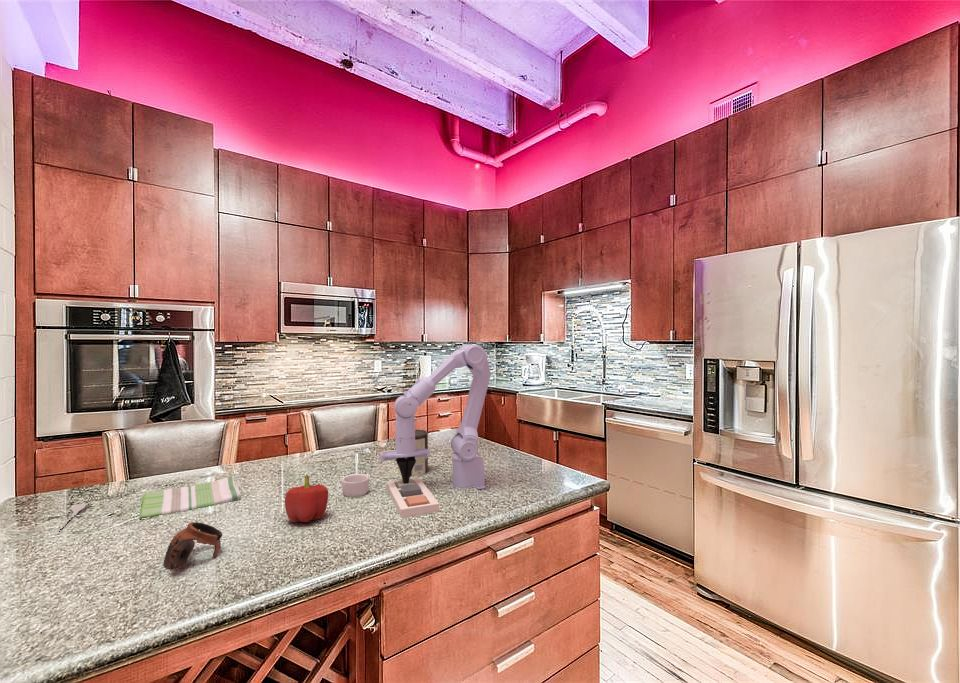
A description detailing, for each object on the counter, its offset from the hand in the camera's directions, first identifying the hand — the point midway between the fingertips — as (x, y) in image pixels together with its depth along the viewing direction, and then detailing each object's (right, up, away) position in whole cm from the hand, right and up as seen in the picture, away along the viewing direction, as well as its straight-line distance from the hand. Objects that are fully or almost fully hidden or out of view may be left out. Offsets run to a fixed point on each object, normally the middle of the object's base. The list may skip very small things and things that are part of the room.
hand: (405, 482), depth 126 cm
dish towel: (-61, -5, -4) cm, 61 cm away
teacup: (-15, -4, 0) cm, 15 cm away
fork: (-84, -5, -16) cm, 85 cm away
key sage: (0, -3, 0) cm, 3 cm away
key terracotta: (+5, -3, -13) cm, 14 cm away
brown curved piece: (-39, -5, -37) cm, 54 cm away
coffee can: (-1, -3, +18) cm, 18 cm away
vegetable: (-22, -4, -16) cm, 28 cm away
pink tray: (+3, -3, -6) cm, 8 cm away
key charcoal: (+3, -2, -6) cm, 7 cm away
